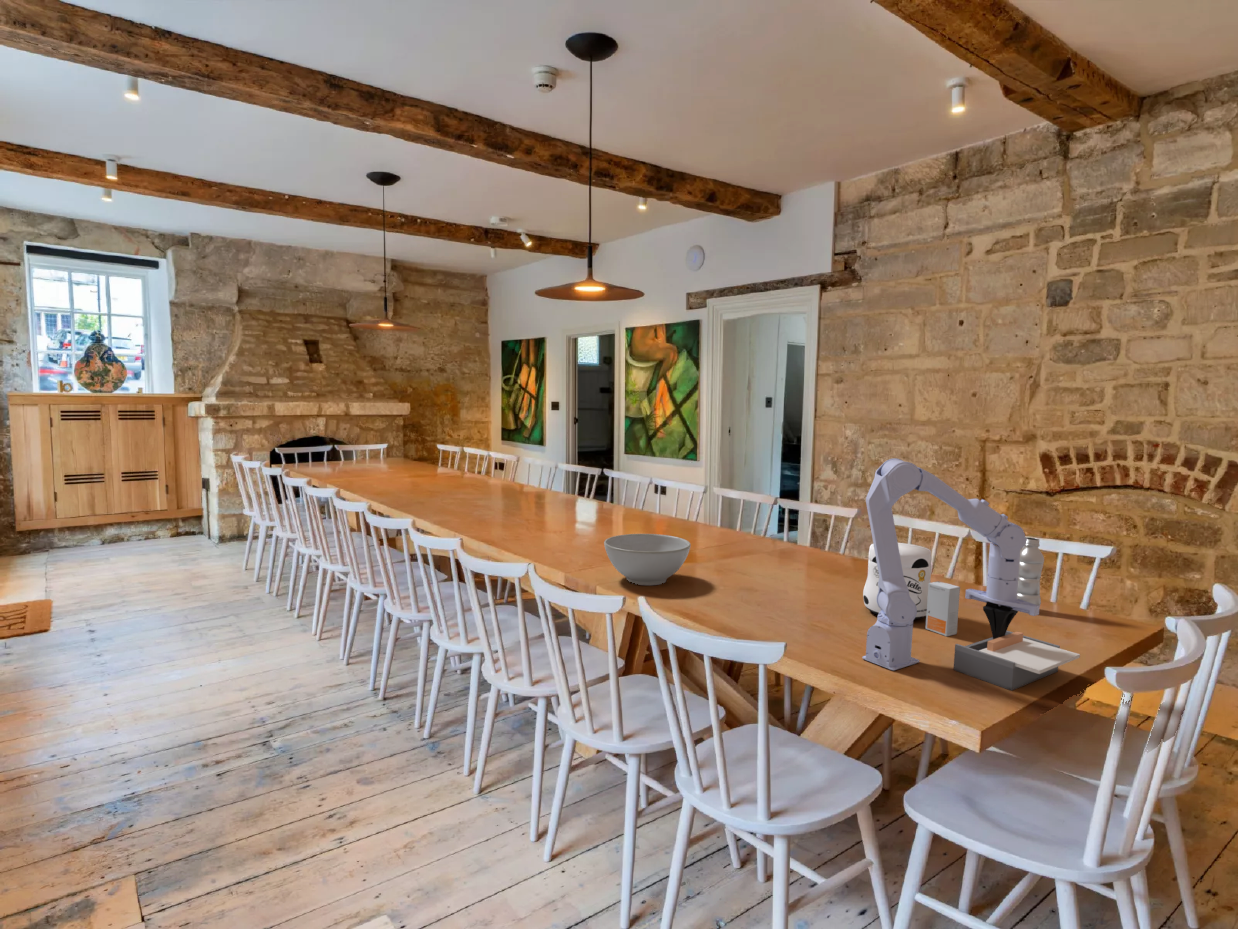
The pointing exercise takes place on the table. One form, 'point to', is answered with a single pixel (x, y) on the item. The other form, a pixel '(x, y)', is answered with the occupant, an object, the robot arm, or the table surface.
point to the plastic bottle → (1030, 572)
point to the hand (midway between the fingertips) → (998, 639)
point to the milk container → (914, 573)
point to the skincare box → (942, 608)
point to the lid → (1028, 653)
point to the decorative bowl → (647, 556)
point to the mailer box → (995, 666)
